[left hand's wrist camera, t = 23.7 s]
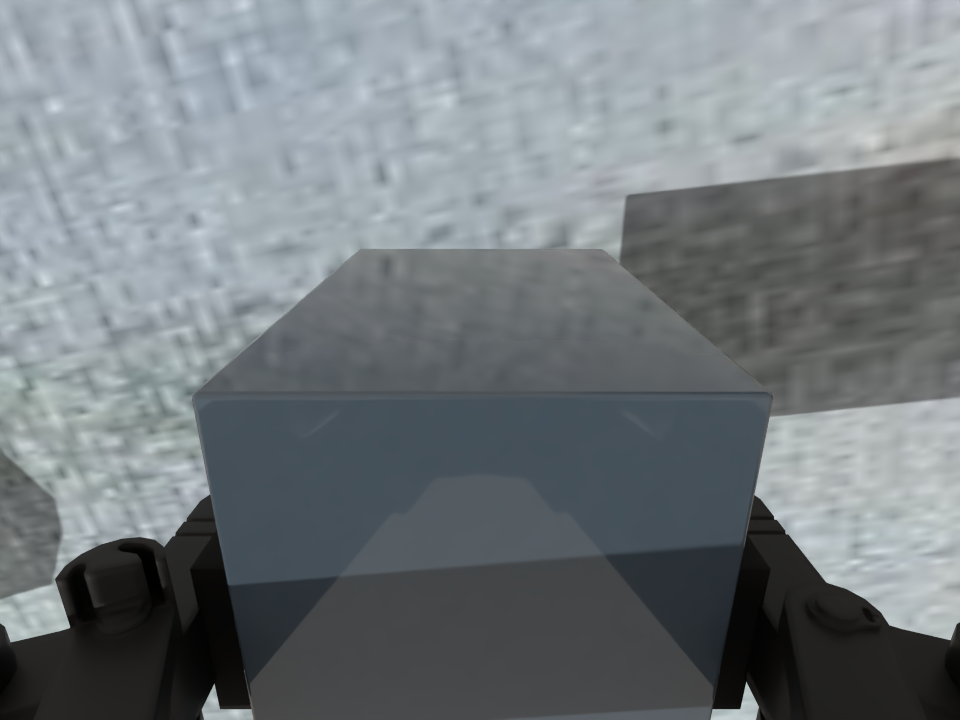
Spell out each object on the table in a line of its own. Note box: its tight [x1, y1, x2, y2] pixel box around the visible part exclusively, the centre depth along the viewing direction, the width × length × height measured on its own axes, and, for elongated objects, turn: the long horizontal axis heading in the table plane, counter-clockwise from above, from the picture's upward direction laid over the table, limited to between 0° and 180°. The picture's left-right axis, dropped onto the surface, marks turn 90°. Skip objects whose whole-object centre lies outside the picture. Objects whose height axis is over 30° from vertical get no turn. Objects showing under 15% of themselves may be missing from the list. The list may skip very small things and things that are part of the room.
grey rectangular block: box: [192, 249, 773, 720], centre depth 13 cm, size 7×9×10 cm
